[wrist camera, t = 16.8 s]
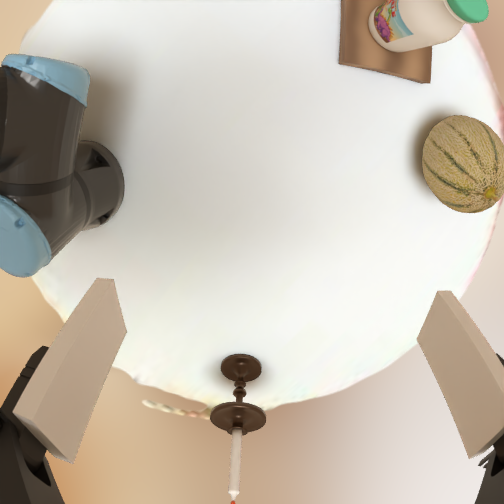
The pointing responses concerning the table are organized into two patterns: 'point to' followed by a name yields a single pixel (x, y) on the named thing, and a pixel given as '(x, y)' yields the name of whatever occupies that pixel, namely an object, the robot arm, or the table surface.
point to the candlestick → (238, 412)
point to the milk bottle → (422, 22)
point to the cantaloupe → (464, 164)
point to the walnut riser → (377, 46)
